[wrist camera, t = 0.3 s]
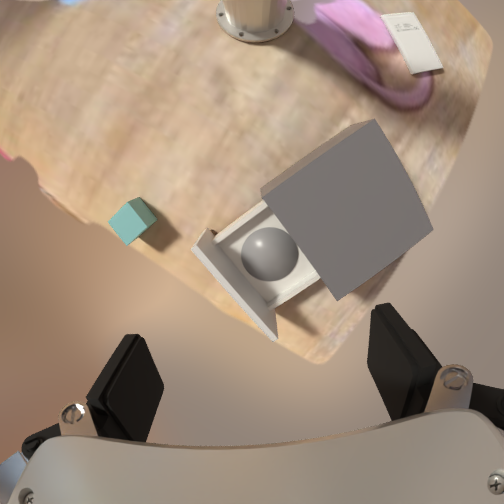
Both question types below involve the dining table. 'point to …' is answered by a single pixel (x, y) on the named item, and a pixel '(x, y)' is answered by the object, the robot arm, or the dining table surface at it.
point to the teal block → (132, 220)
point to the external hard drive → (412, 42)
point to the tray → (256, 264)
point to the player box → (349, 207)
